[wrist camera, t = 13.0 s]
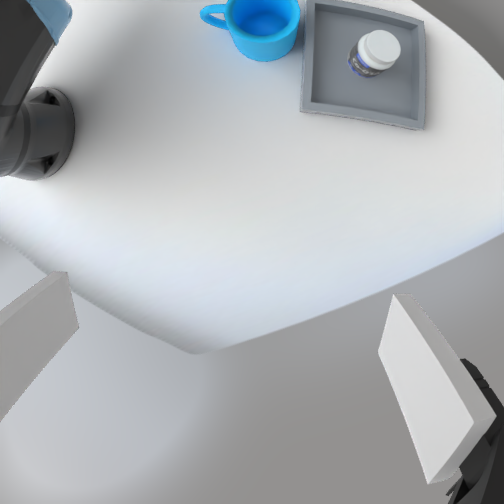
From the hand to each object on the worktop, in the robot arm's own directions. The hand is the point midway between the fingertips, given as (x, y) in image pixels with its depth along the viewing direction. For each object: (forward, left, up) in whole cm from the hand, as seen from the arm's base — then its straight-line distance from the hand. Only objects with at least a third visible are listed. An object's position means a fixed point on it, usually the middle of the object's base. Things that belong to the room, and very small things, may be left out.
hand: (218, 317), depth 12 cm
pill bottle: (+13, +19, -31) cm, 38 cm away
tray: (+13, +19, -31) cm, 39 cm away
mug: (-2, +22, -32) cm, 39 cm away
